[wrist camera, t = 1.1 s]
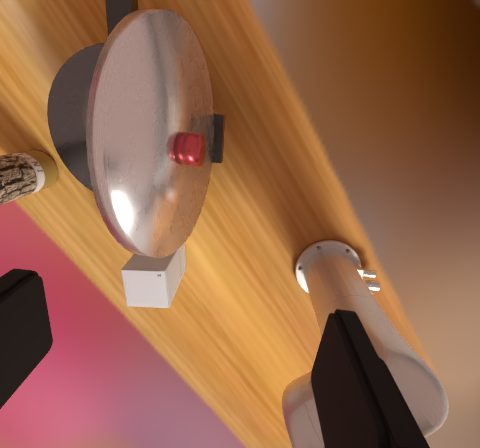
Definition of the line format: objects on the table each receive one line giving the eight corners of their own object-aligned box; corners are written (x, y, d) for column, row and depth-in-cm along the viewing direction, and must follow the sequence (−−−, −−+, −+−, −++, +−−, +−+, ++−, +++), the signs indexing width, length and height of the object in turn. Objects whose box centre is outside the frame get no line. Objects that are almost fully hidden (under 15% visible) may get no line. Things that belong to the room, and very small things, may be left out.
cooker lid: (205, 44, 33) (234, 45, 32) (200, 214, 41) (224, 218, 40) (61, -56, 14) (127, -57, 13) (104, 302, 22) (146, 311, 21)
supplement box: (147, 235, 56) (119, 268, 44) (185, 236, 56) (166, 270, 44) (151, 268, 59) (125, 307, 47) (186, 269, 59) (169, 309, 47)
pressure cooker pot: (239, -13, 41) (233, -59, 30) (226, 190, 52) (218, 212, 41) (80, -25, 41) (16, -75, 30) (101, 179, 52) (60, 197, 41)
